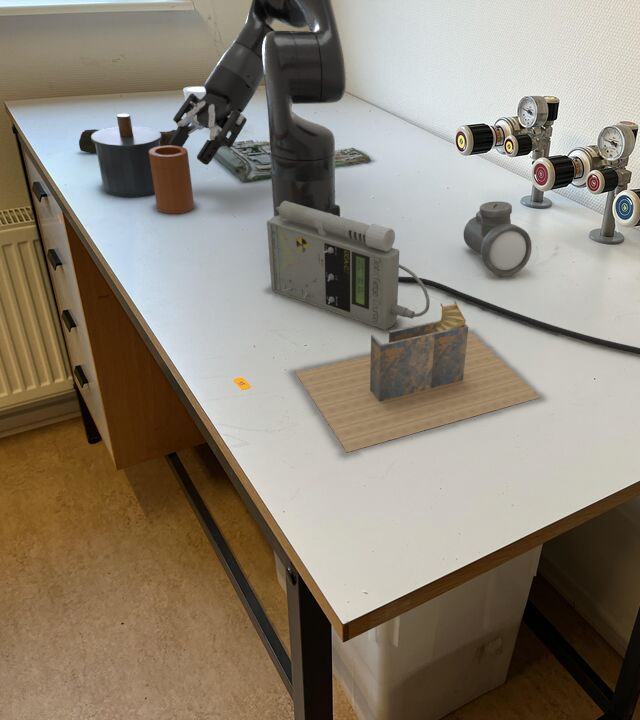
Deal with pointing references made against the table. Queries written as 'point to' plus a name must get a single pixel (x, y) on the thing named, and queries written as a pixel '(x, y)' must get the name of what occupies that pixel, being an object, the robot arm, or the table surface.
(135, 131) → the tin lid
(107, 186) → the tin
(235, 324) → the table surface
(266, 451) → the table surface
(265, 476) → the table surface
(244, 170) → the model
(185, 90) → the white cylinder
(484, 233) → the pipe fitting
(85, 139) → the hand tool
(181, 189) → the jar
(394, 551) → the table surface
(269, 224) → the geiger counter
